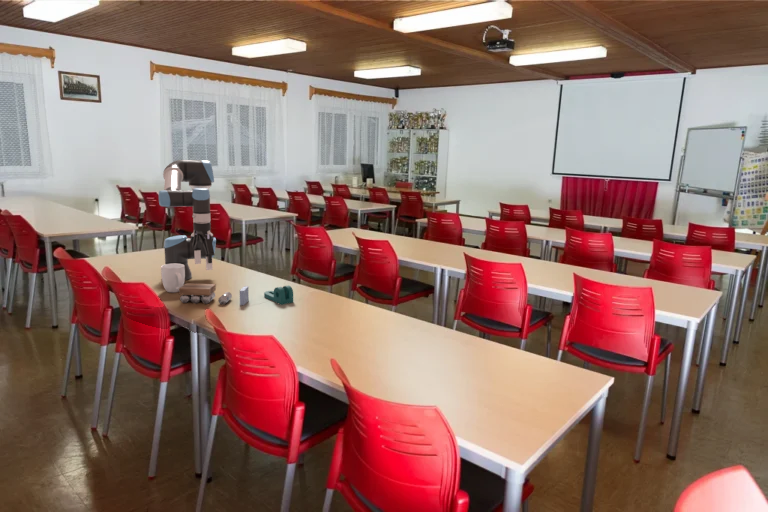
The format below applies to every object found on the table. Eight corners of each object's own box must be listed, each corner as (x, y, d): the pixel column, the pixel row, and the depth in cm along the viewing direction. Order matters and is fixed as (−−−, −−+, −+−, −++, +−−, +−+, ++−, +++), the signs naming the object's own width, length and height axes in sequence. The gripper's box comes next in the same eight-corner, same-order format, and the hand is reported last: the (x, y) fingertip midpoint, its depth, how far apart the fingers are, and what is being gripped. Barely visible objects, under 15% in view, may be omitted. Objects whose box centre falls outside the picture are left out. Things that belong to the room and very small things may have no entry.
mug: (192, 293, 256) (191, 267, 253) (170, 296, 248) (169, 270, 246) (180, 286, 266) (179, 262, 264) (158, 290, 259) (157, 265, 256)
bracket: (293, 302, 247) (293, 287, 246) (281, 305, 243) (281, 289, 241) (273, 294, 260) (273, 279, 258) (261, 296, 255) (261, 281, 254)
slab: (186, 289, 247) (186, 283, 246) (215, 290, 247) (215, 284, 246) (179, 294, 238) (179, 288, 237) (209, 295, 238) (209, 289, 238)
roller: (222, 298, 247) (224, 291, 247) (230, 300, 248) (232, 293, 247) (217, 303, 239) (219, 295, 239) (225, 305, 240) (227, 297, 239)
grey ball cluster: (186, 298, 247) (186, 290, 246) (215, 299, 247) (215, 291, 247) (180, 302, 239) (179, 294, 239) (210, 304, 239) (209, 295, 239)
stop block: (244, 300, 247) (244, 286, 246) (248, 300, 247) (248, 286, 246) (239, 305, 240) (239, 290, 238) (244, 305, 240) (243, 290, 238)
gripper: (183, 218, 243) (185, 262, 247) (204, 226, 224) (206, 273, 229) (199, 217, 247) (201, 260, 252) (221, 225, 229) (222, 271, 234)
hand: (203, 266), depth 240 cm, fingers open, 13 cm apart
